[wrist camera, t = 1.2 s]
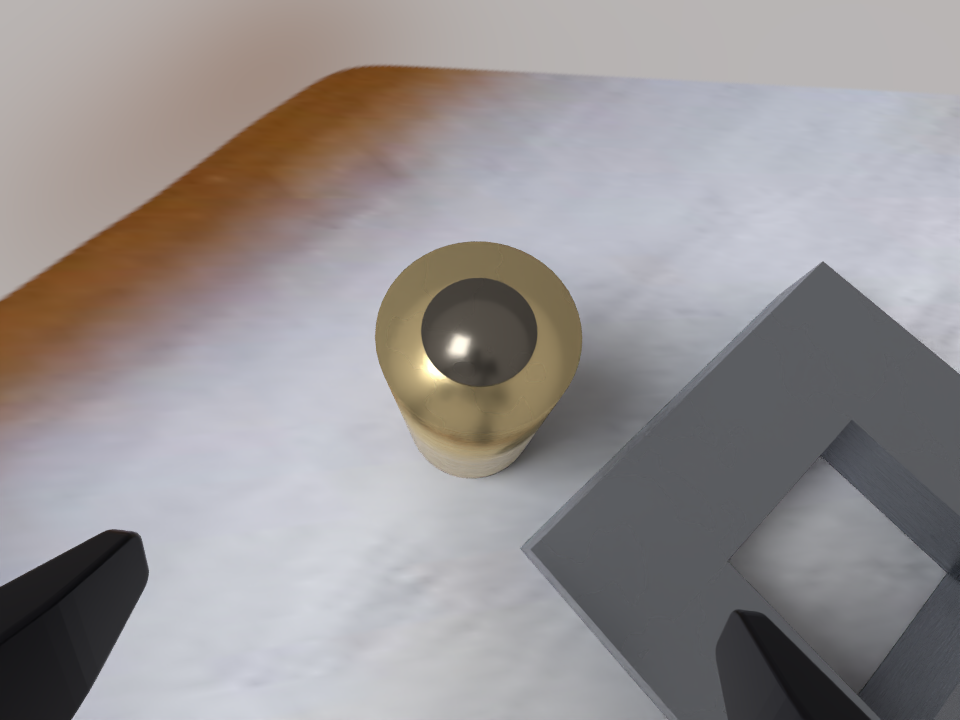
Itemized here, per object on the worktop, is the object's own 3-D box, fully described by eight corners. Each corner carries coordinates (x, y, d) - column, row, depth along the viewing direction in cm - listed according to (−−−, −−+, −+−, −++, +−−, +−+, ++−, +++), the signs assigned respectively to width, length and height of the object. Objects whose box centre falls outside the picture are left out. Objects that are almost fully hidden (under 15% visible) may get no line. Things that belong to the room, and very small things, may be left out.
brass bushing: (558, 420, 21) (625, 339, 13) (465, 505, 20) (470, 479, 11) (476, 334, 22) (486, 205, 14) (383, 410, 21) (331, 320, 12)
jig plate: (1111, 582, 20) (1219, 589, 17) (876, 961, 16) (966, 1051, 13) (778, 295, 23) (822, 261, 21) (520, 548, 20) (530, 549, 17)
